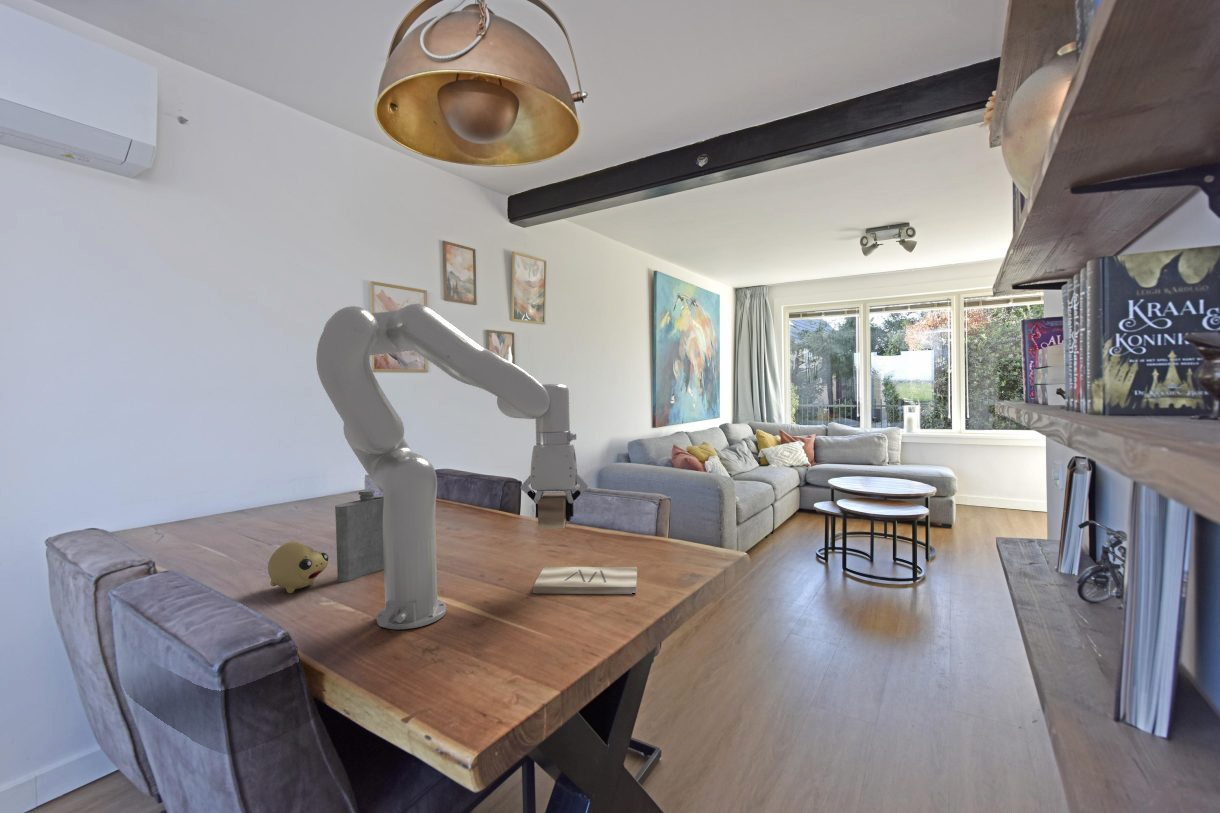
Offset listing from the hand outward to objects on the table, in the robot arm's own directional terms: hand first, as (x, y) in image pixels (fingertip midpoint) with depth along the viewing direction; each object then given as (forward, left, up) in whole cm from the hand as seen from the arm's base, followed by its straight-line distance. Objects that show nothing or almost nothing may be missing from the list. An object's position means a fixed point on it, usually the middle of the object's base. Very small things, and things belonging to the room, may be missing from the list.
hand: (554, 519), depth 123 cm
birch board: (0, -7, -14) cm, 16 cm away
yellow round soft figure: (-5, +57, -15) cm, 59 cm away
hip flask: (+7, +47, -15) cm, 50 cm away
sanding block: (0, 0, -1) cm, 1 cm away
